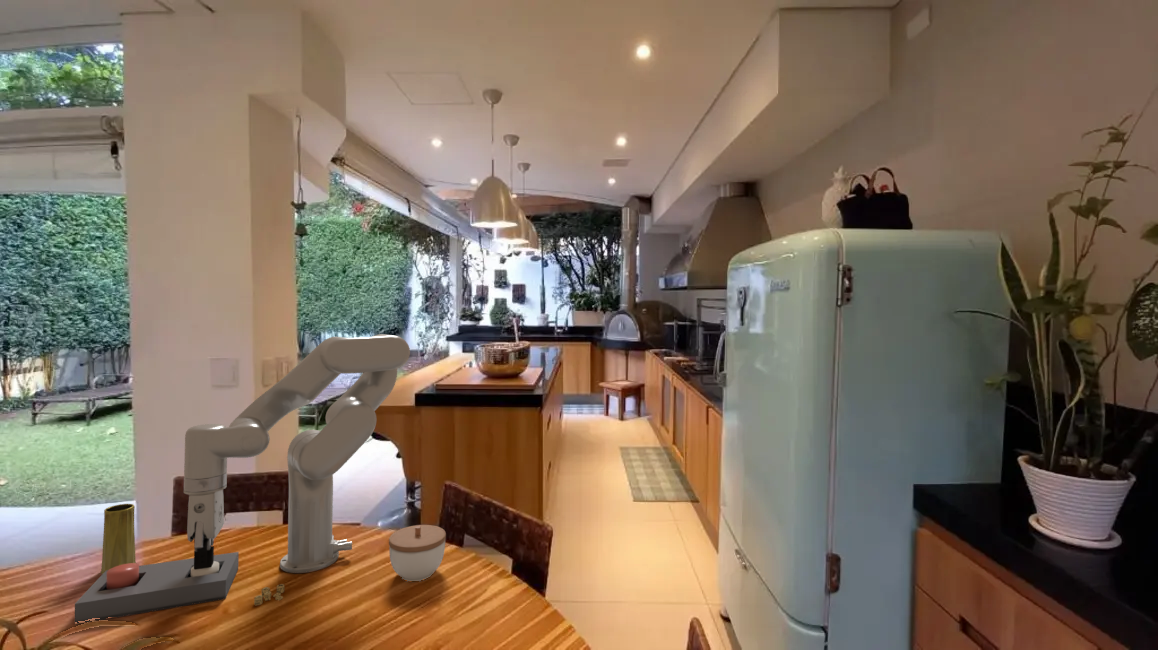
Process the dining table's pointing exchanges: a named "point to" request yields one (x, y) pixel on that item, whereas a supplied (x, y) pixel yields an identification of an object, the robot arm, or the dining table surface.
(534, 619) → the dining table surface
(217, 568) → the ivory button
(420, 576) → the lidded bowl
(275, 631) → the dining table surface
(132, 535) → the vase
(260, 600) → the dice set
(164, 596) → the button panel
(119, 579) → the red button
